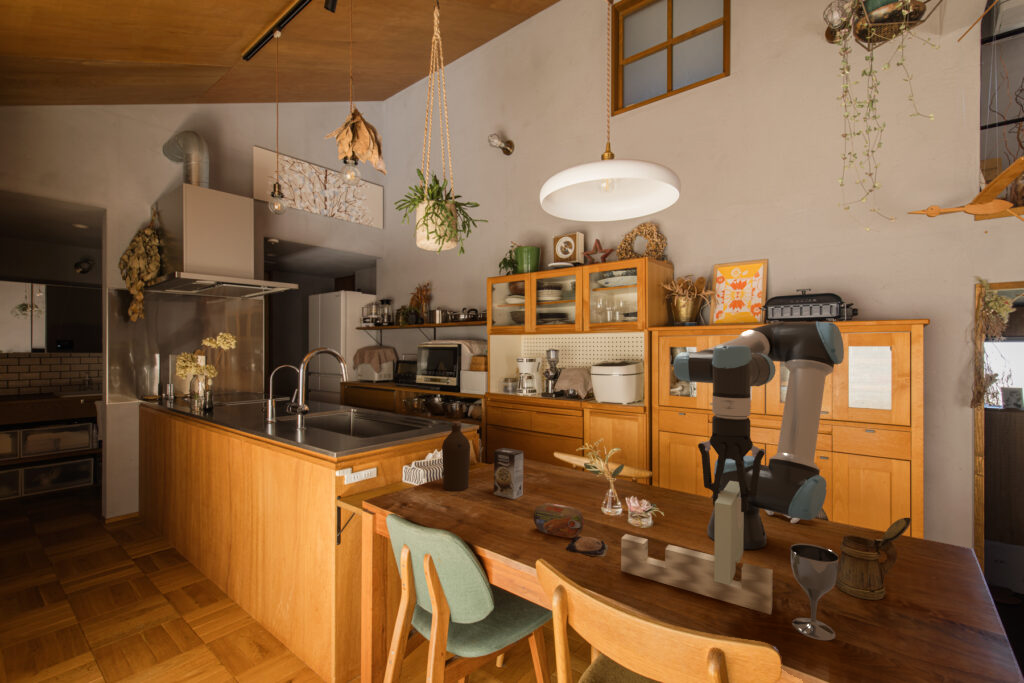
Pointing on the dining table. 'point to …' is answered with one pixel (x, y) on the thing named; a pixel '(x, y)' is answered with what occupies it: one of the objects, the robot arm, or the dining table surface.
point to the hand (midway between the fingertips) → (730, 523)
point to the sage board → (727, 534)
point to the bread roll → (588, 546)
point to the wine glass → (814, 584)
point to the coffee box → (508, 473)
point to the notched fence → (697, 574)
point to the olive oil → (456, 459)
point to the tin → (558, 520)
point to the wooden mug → (868, 562)
